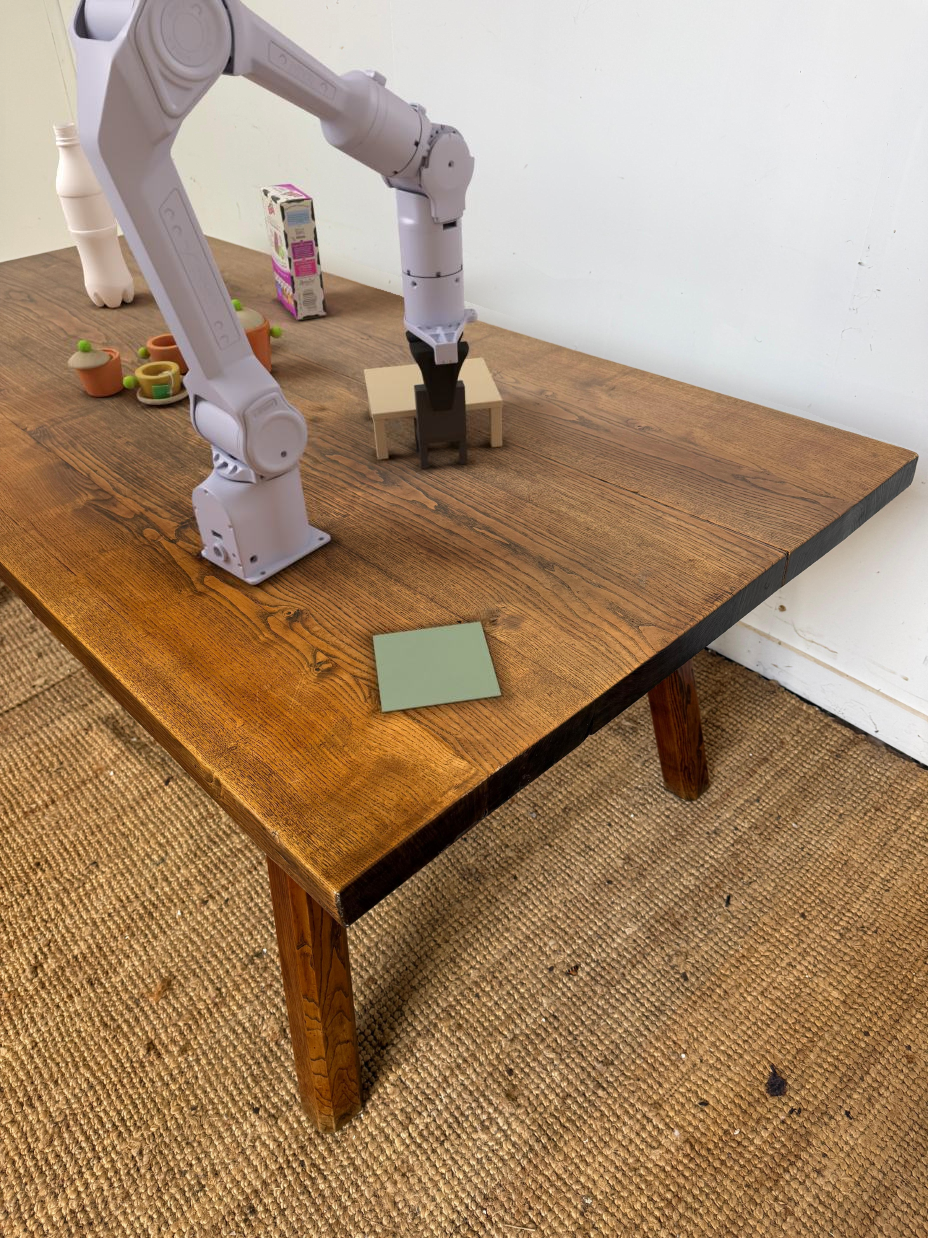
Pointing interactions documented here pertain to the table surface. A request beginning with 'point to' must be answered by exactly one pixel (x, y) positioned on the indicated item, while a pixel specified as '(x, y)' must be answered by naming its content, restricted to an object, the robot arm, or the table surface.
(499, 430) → the side table
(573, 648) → the table surface
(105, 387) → the toy tea set
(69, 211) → the water bottle
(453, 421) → the toy chair
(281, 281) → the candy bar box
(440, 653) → the mat
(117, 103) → the robot arm
